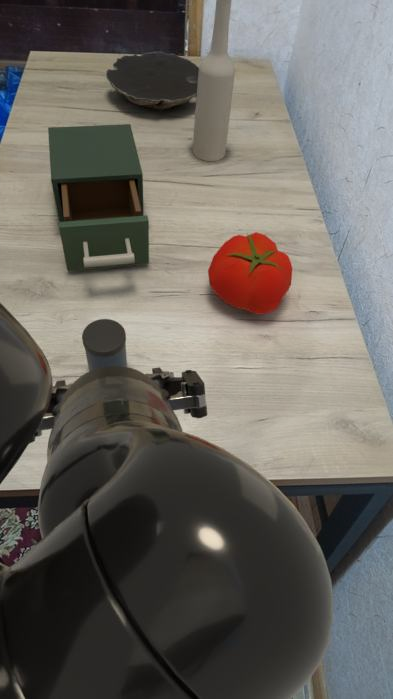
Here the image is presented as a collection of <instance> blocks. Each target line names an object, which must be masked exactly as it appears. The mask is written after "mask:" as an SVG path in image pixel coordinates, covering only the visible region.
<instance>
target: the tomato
mask: <svg viewBox="0 0 393 699" xmlns="http://www.w3.org/2000/svg"><path fill="white" fill-rule="evenodd" d="M246 234H247V235H242V234H237V235H234V236H232V237H231V238H229V239H228V240H226V241H225V242H224V243H223V244H222V245H221V247H220V248H218V250H217V251H216V253H215V254H214V255H213V257H212V259H211V262H210V265H209V267H208V270H207V275H208V282H209V286H210V288H211V289H212V290H213V292H214V294H215V295H216V296H217V297H218V298H219V299H221V300H222V301H223V302H225V303H226V304H228V305H230V306H232V307H234V308H237V309H242V310H246V311H248V312H250V313H252V314H255V315H267V314H268V313H271V312H274V311H275V310H277V309H278V308H279V307H280V304H281V302H282V300H283V298H284V297H285V295H286V294H287V293H288V292H289V289H290V288H291V285H292V278H293V266H292V261H291V260H290V257H289V255H288V254H286V253H285V252H283V251H280V250H279V249H278V246H277V243H276V242H274V241H273V240H272V239H271V238H269V237H268V236H267V235H266V234H263V233H260V232H257V231H256V232H254V233H253V232H252V233H251V234H248V233H246Z"/></svg>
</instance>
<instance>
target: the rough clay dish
mask: <svg viewBox="0 0 393 699" xmlns="http://www.w3.org/2000/svg"><path fill="white" fill-rule="evenodd" d="M112 67H113V69H111V68H110V69H106V71H105V79H107V81H108V82H109V83H110V85H111V87H112V88H113V89H115V90H116V91H117V92H119V93H120V94H121V96H123V97H124V98H125V99H127V100H128V101H129V102H130V103H132V104H135V105H136V106H142V107H148V108H150V109H153V110H156V111H160V112H161V111H166V110H168V109H179V108H180V107H182V106H183V105H185V104H187V103H188V102H189V101H191V100H192V99H193V98H194V97H196V96H197V86H198V73H199V66H198V65H197V64H196V63H194V62H193V61H191V60H189V59H188V58H185V57H183V56H182V57H181V56H179V55H178V54H175V53H166V52H163V51H152V52H145V53H142V54H141V55H137V53H135V54H132V55H122V56H120V57H119V58H118V57H117V58H116V60H115V62H113V64H112Z"/></svg>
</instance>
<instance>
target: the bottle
mask: <svg viewBox="0 0 393 699" xmlns="http://www.w3.org/2000/svg"><path fill="white" fill-rule="evenodd" d="M231 8H232V0H215V8H214V9H215V10H214V21H213V30H212V36H211V43H210V48H209V49H210V50H209V52H208V53H207V54H206V56H204V57H203V59H201V60H200V63H199V65H198V67H199V73H198V86H197V95H196V100H195V110H194V112H195V113H194V123H193V136H192V137H193V138H192V153H193V156H194V157H196V158H197V159H199V160H202V161H205V162H218V161H220V160H223V158H224V157H225V156H226V151H227V144H228V135H229V127H230V126H229V125H230V119H231V118H230V116H231V109H232V102H233V100H232V99H233V92H234V85H235V84H234V83H235V76H236V67H235V64H234V62H233V60H232V59H231V57H230V55H229V53H228V47H229V28H230V18H231V10H232V9H231Z"/></svg>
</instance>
